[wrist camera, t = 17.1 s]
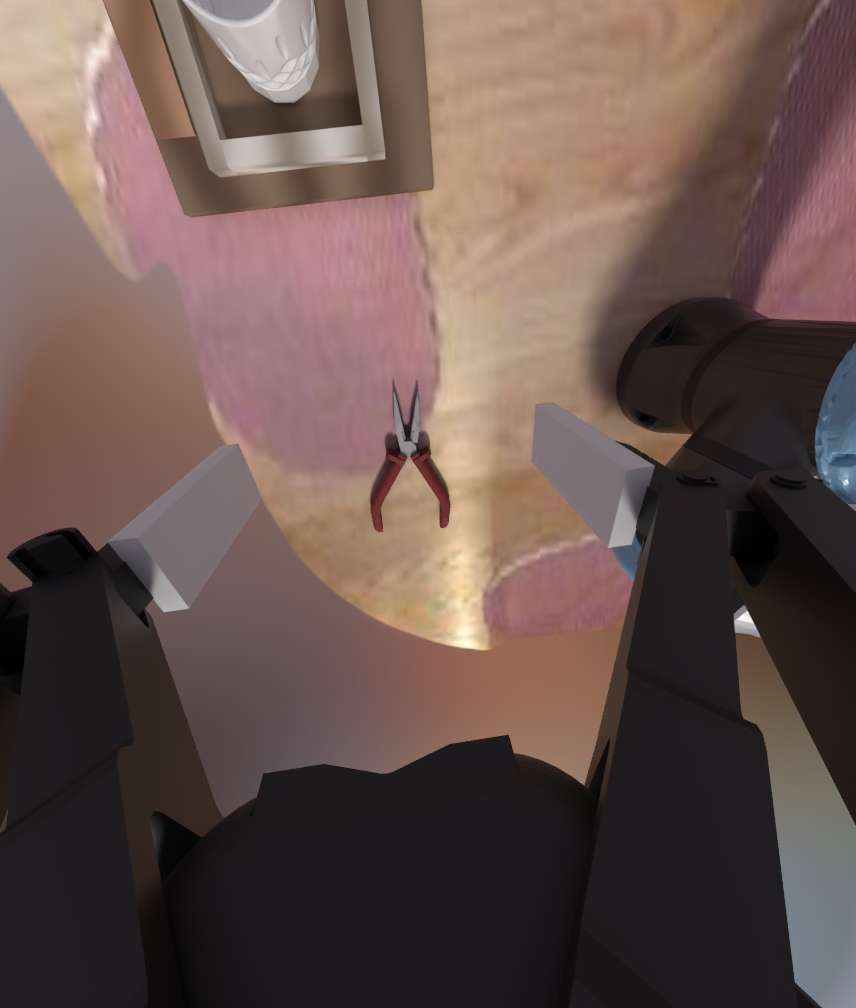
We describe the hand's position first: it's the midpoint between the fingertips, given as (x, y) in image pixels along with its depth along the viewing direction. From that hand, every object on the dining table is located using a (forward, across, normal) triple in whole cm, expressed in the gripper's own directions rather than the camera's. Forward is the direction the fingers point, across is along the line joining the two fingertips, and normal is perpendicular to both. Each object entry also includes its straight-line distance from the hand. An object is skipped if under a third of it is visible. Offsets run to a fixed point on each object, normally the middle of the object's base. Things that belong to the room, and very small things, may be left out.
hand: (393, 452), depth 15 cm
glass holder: (+27, -5, +23) cm, 36 cm away
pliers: (+28, +2, -14) cm, 31 cm away
